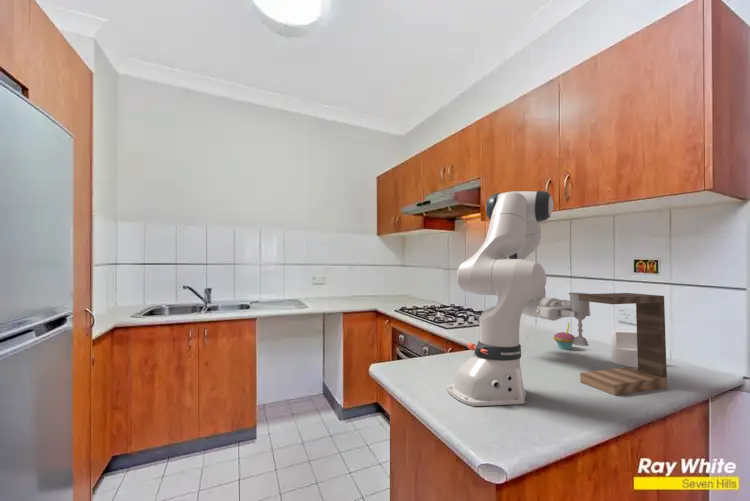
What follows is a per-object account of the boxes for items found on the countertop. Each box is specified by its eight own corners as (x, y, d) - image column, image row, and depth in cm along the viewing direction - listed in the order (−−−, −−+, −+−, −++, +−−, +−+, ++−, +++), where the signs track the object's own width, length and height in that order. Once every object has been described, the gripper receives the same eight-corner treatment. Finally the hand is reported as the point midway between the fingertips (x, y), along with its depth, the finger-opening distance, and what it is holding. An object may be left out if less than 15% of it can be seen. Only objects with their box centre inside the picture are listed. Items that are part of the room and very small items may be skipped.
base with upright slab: (630, 360, 130) (630, 329, 130) (647, 367, 121) (646, 334, 122) (606, 359, 131) (605, 329, 131) (621, 366, 122) (620, 333, 122)
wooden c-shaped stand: (614, 395, 94) (612, 297, 95) (580, 382, 105) (578, 294, 106) (667, 387, 101) (664, 295, 102) (629, 375, 111) (627, 292, 112)
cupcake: (570, 346, 151) (570, 320, 152) (579, 351, 143) (578, 323, 143) (550, 345, 152) (550, 319, 153) (558, 350, 144) (557, 323, 145)
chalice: (595, 347, 113) (594, 294, 114) (574, 346, 114) (573, 294, 115) (586, 342, 120) (585, 292, 121) (566, 341, 121) (565, 292, 122)
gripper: (529, 301, 127) (559, 306, 114) (570, 300, 133) (602, 304, 120) (529, 318, 127) (559, 324, 113) (570, 315, 133) (603, 321, 120)
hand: (582, 314), depth 117 cm, fingers closed on chalice, 5 cm apart
